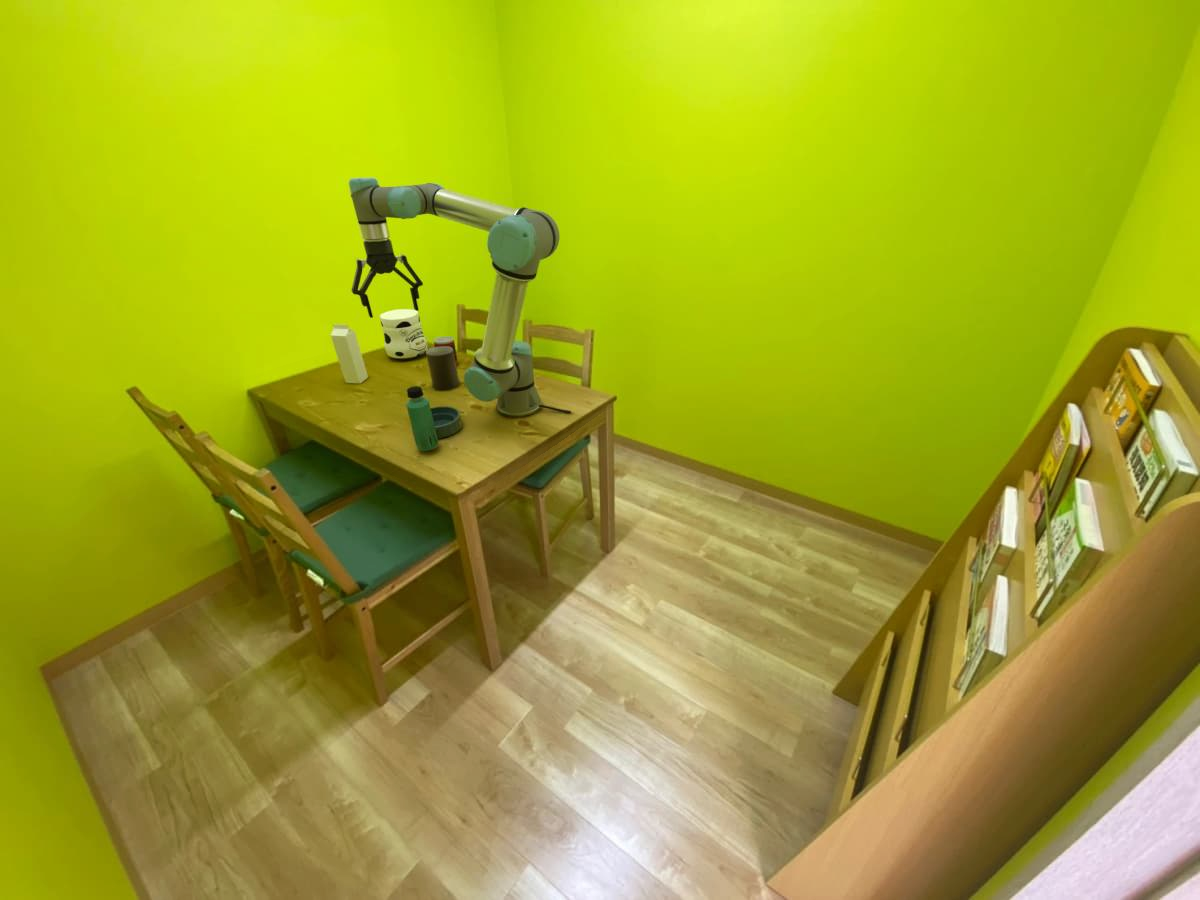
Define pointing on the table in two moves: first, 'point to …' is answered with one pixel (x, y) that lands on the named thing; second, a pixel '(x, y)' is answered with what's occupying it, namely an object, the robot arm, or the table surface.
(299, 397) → the table surface
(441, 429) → the dish
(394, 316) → the milk container
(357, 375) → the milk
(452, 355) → the pillar candle
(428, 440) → the beverage bottle
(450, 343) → the canned food
